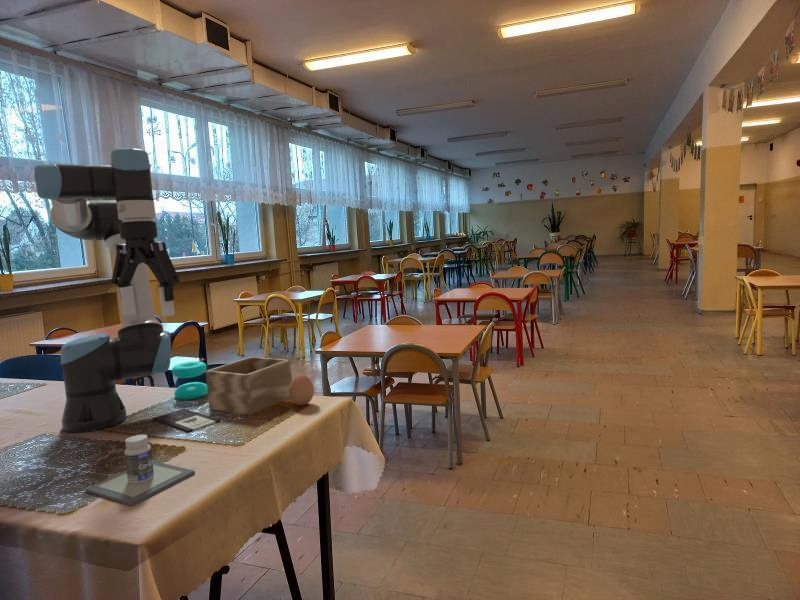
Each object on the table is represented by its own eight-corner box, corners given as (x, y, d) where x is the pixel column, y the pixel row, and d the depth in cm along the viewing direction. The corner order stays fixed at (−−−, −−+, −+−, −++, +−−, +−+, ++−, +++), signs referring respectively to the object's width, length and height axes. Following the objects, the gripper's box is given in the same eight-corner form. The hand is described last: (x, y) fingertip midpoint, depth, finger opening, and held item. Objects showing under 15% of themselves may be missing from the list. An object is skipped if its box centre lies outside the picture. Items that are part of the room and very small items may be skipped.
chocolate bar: (184, 408, 150) (219, 419, 139) (184, 411, 150) (220, 423, 139) (152, 418, 143) (187, 430, 132) (153, 421, 144) (187, 434, 132)
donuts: (164, 368, 160) (184, 360, 169) (167, 400, 161) (187, 390, 171) (193, 368, 157) (212, 360, 167) (197, 401, 159) (215, 391, 168)
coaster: (85, 491, 103) (85, 488, 103) (149, 462, 115) (149, 459, 115) (131, 505, 96) (131, 502, 96) (194, 473, 108) (194, 470, 108)
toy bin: (209, 409, 150) (205, 371, 149) (254, 391, 165) (250, 356, 164) (250, 415, 142) (246, 375, 141) (293, 396, 158) (290, 359, 156)
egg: (303, 410, 144) (300, 378, 143) (285, 407, 148) (282, 375, 147) (319, 403, 150) (317, 372, 149) (301, 400, 153) (299, 369, 152)
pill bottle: (143, 484, 103) (138, 443, 102) (122, 483, 104) (117, 442, 102) (159, 473, 107) (154, 433, 106) (138, 473, 108) (134, 433, 107)
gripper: (87, 224, 121) (99, 316, 124) (159, 217, 109) (171, 319, 112) (118, 224, 128) (129, 311, 130) (189, 217, 116) (200, 313, 118)
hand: (148, 315), depth 121 cm, fingers open, 13 cm apart
